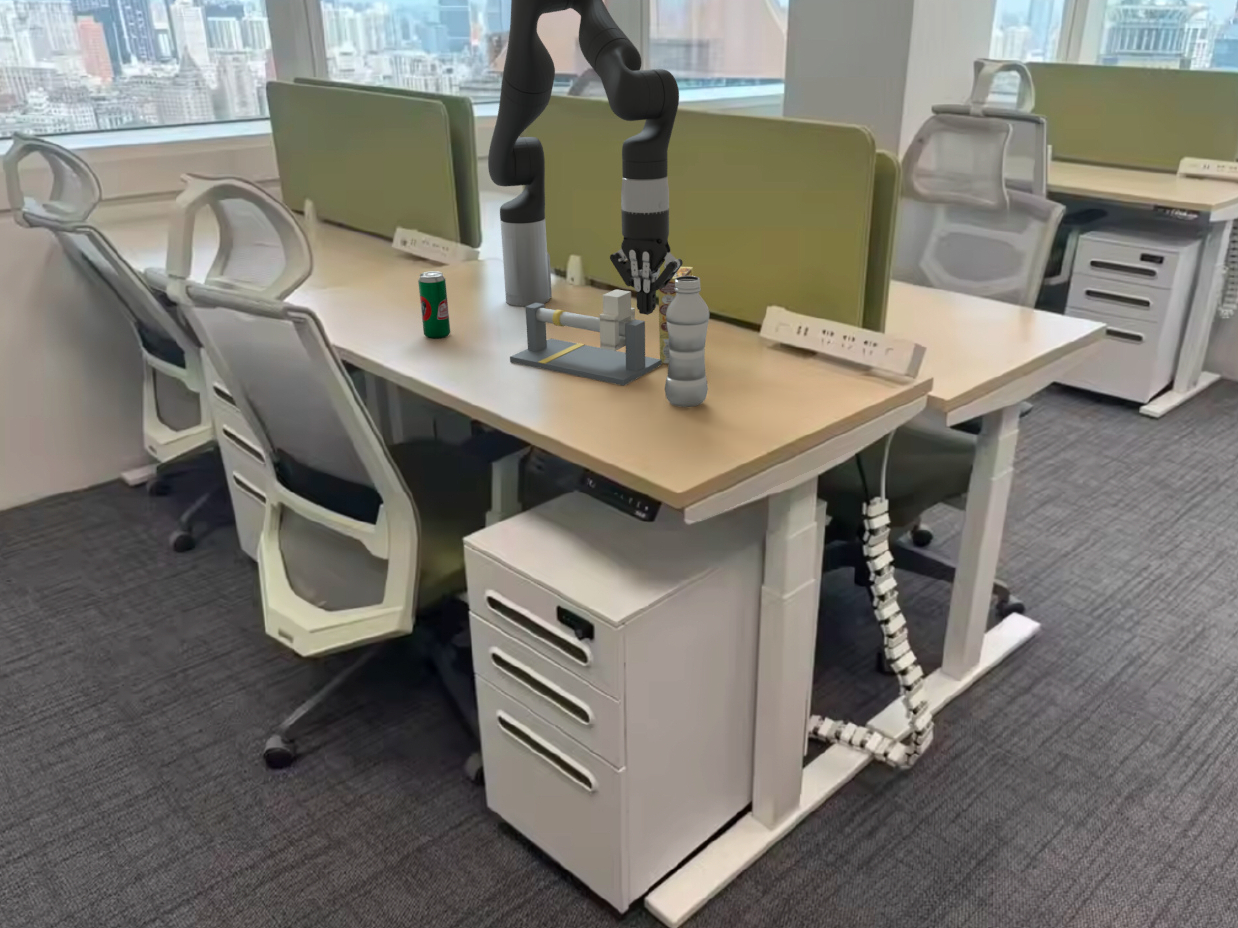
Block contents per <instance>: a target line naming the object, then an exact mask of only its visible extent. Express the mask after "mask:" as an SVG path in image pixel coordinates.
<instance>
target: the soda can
mask: <svg viewBox="0 0 1238 928" xmlns="http://www.w3.org/2000/svg"><path fill="white" fill-rule="evenodd" d="M417 280H418V281H417V282H418V293H419V303H420V311H421V319H422V322H421V323H422V328H423V329H422V330H423V335H424V337H426V338H427V339H431V340H440V339H445V338H447V337H448V336H450V335H451V324H450V323H451V322H450V314H449V302H448V292H447V282H446V278H445V277H444V273H443V272H441V271H434V270H433V271H425V272H422V273H420V274H419V278H418V279H417Z"/></svg>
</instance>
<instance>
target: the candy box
mask: <svg viewBox="0 0 1238 928" xmlns="http://www.w3.org/2000/svg"><path fill="white" fill-rule="evenodd" d="M680 276H694V267H693V266H681V267H680V268H679V270H678V271H677V272H676V274H675V275H674V276H673V278H672V279H671V280H670V282H669V283H668V284H667V285H666V287H663V288H661V289H659V290H658V326H659V327H658V332H659V334H658V335H659V337H658V338H659V340H658V341H659V359H662V364H665V365H669V349H670V347H669V336H668V328H667V320H666V311H667V308H668V306H669V304H670V303H671V301H672V300H673V298H674V297H675V296H676V293H677V292H675V291H674V287H675V278H677V277H680Z"/></svg>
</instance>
